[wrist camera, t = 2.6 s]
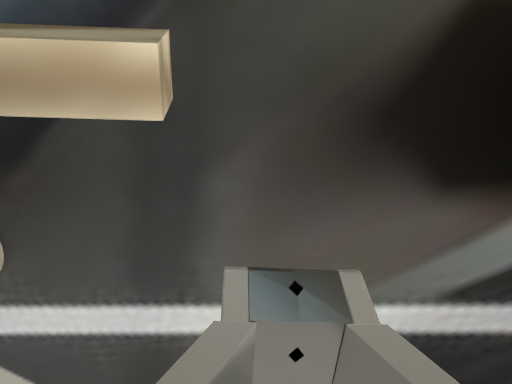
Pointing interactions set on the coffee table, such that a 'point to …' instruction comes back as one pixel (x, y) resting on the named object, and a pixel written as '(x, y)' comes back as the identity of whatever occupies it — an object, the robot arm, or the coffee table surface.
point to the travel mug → (1, 256)
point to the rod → (84, 72)
